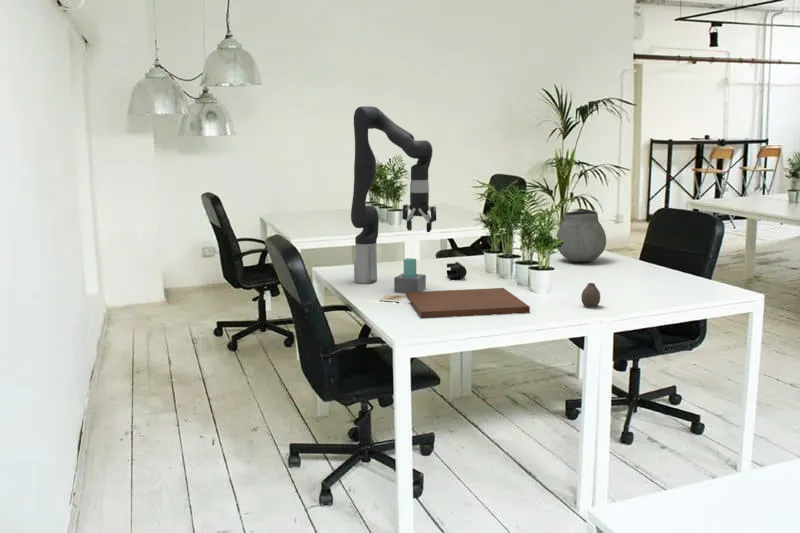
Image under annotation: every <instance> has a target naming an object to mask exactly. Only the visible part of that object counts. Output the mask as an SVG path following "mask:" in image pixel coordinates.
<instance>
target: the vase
mask: <svg viewBox="0 0 800 533" xmlns="http://www.w3.org/2000/svg"><path fill="white" fill-rule="evenodd" d="M580 297H581V299H580V300H581V303H582V305H583V306H584V307H585V306H586V307H585V308H589V307H594V308H597V306H599V304H600V302H601V292H600V291H599V289H598V287H597V286H596V284H595V283H594V282H588V283H587V285H586V287H585V288H584V289H583V290H582V292H581V296H580Z"/></svg>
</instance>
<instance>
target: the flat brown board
mask: <svg viewBox="0 0 800 533" xmlns="http://www.w3.org/2000/svg"><path fill="white" fill-rule="evenodd" d="M405 296H406V298H407V299H408V301H409V304H410V306H411V307H412V309H413V310H414V311H415V312H416V313H417V315H418V316H419V318H420V319H433V318H434V319H436V318H453V316H457V317H474V315H477V316H492V314H497V315H512V313H518V314H529V313H531V312H530V308H531V306H530V305H528V304H527V303H525V302H524V301H523V300H521V299H520V298H519V297H517V296H515V295H514V294H513V293H511V292H510V291H508V290H507V289H506V288H504V287H495V288H493V287H491V288H473V289H471V288H470V289H469V288H468V289H450V290H448V289H447V290H445V289H444V290H430V291H429V290H427V291H425V290H423V291H422V292H406V293H405Z"/></svg>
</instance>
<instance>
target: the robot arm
mask: <svg viewBox="0 0 800 533" xmlns="http://www.w3.org/2000/svg"><path fill="white" fill-rule="evenodd" d="M370 129H371V130H373V129H375V130H378V131H381V132H383V133H385V135H386V137H387V139H388V140H389V141H390V142H391V143H392V144H394V146H397V147H399V148H400V149H401V150H402V151H403V152H404V153H405V154H406V156H408V157H409V158H412V159H414V160H415V159H416V160H417V161H416V163H415V164H413V165H412V166H411V167H410V183H409V202H410V203H409V204H408V203H407V204H403V205H402V214H401V215H402V217H401V218H402V220H404V221H406V229H407V231H408V232H409V231H410V232H411V231H412V228H413V224H412V223H413V221H412V220H413V219H414V218H415V217H420V218H421V217H422V218H423V219H424V220H425V222H426V232H427V233H430V232H431V231H432V226H433V225H432V224H433V222H436V221H437V207H436V205H435V206H429V201H430V199H429V198H430V197H429V196H430V194H429V193H430V185H429V169H430V165H431V160H432V156H433V152H434V151H433V147H432V143H430V141H428V140H425V139H424V140H423V139H422V140H415V137H414V135H413V134H412V133H410V132H409V131H407V130H406V129H404V128H403V127H401V126H399V125H397V124H396V123H395V122H394V121H393V120H392V119H391V118H389V117H388V116H387V115H386V114H385V113H384V112H383V111H382V110H380V109H379V108H378V107H376V106H366V105H365V106H358V107H357V108H356V109H355V111H354V113H353V132H354V165H353V173H354V174H353V191H352V192H353V193H352V194H353V195H352V200H351V201H352V203H351V210H350V221H351V224H352V225H353V227H354V228H355V229H362V231H361V232H360V233H358V234H357V235H356V236H355V239H354V240H355V242H354V243H355V260H353V272H354V273H353V276H354V278H353V281H354V283H358V284H366V285H367V284H374V283H377V282H378V259H377V258H378V254H377V253H378V252H377V246H378V245H377V244H378V243H377V239H378V236H379V212H378V210H377V208H376V206H373V205H366V203H367V202H366V201H367V197H368V193H369V191H370V189H371V187H372V185H373V183H374V181H375V179H376V176H377V173H376V172H377V160H376V156H375V154H374V152H373V150H372V148H371V145H370V141H369V130H370ZM409 210H410V213H409ZM429 212H430V213H429Z"/></svg>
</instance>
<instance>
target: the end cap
mask: <svg viewBox="0 0 800 533" xmlns="http://www.w3.org/2000/svg"><path fill="white" fill-rule="evenodd" d="M446 268H450V269H447V270H446V277H447V278H448V280H449V281H452V280H455V281H462V280H463V279H464V278H465V277H466V276H467V273H468V272H467V268H466V267H465V266H464V265H462V263H460V262H458V261H455V262H454V263H453V262H452V263H450V262H449V263H446Z"/></svg>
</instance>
